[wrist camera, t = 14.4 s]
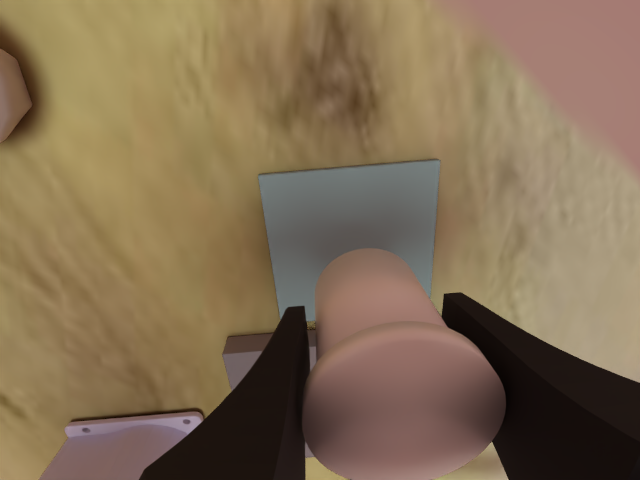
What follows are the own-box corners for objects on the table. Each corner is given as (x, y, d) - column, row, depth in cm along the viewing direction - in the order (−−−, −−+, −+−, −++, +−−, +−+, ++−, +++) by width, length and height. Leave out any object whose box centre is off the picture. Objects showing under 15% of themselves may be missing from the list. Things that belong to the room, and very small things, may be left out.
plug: (310, 347, 15) (311, 492, 9) (299, 244, 13) (291, 350, 7) (423, 338, 15) (491, 477, 9) (429, 233, 13) (522, 331, 7)
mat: (281, 319, 20) (281, 323, 19) (259, 174, 16) (258, 175, 16) (426, 306, 20) (429, 310, 19) (437, 158, 16) (440, 160, 16)
